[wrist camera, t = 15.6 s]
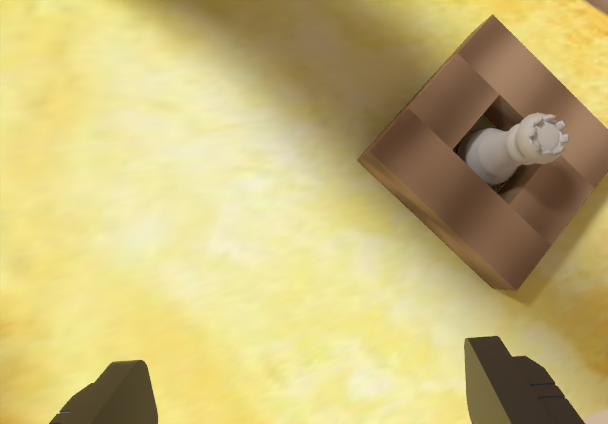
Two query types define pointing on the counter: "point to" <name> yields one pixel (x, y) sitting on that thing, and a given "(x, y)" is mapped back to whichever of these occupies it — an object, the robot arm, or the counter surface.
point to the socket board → (471, 187)
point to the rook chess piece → (513, 147)
